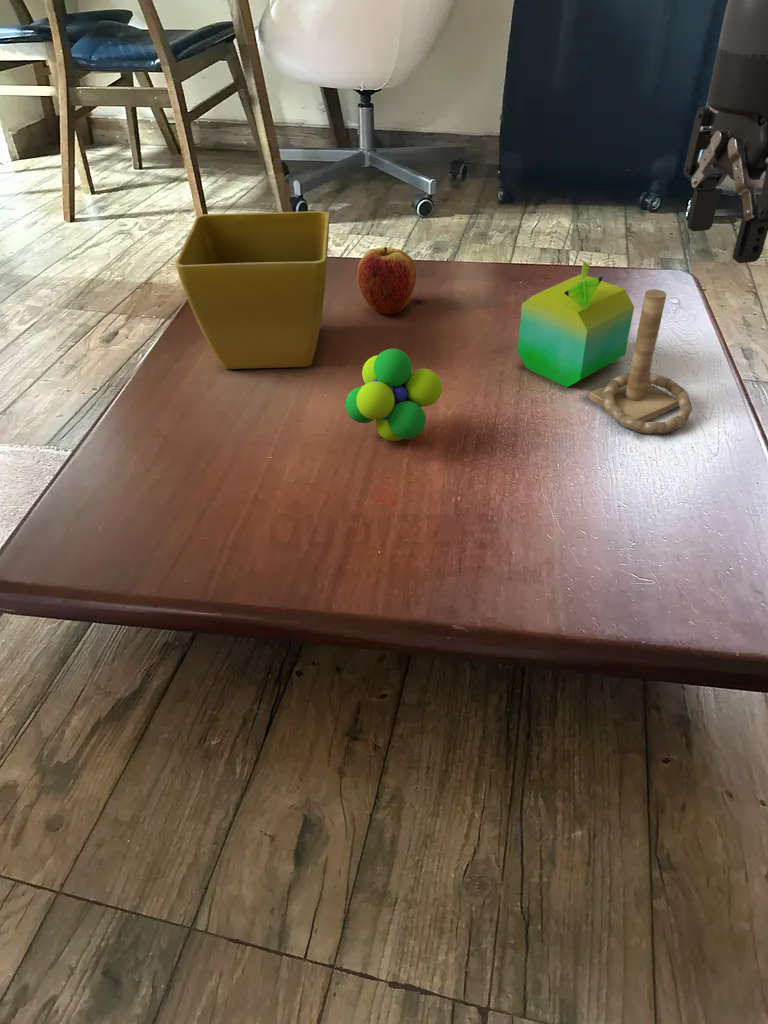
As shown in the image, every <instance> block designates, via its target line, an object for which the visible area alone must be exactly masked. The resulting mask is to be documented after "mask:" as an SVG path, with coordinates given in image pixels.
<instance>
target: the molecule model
mask: <svg viewBox="0 0 768 1024" xmlns="http://www.w3.org/2000/svg"><path fill="white" fill-rule="evenodd" d="M412 369H413V367H412V362H411V359H410V358H409V355H408V354H407V353H406V352H404V351H402V350H401V349H398V348H388V349H385V350H383V351H381V352H379V354H377V355H374V356H373V355H372V356H371V357H370V358H368V359H367V360H366V361H365V363H364V364H363V367H362V371H361V375H362V380H363V382H364V385H362V386H357V387H355V388H354V389H352V390H351V391H350V392H349V393H348V394H347V395H346V396H347V397H346V399H345V410H346V413H347V415H348V416H349V417H350V419H352V420H353V421H354V422H356V423H359V424H368V423H372V422H373V421H375V427H376V430H377V433H378V434H379V435H380V436H381V438H383V439H384V440H387V441H390V442H399V441H401V440H410V439H413V438H416V437H417V436H419V435H420V434H422V432H423V430H424V429H425V426H426V414H425V411H424V409H423V408H422V407H429V406H432V405H433V404H435V403H436V402H437V401H438V400H439V399H440V398H441V394H442V392H443V383H442V379H441V378H440V375H438V374H437V373H436V372H435V371H433V370H432V369H428V368H417V369H416V370H414V371H413V372H412Z"/></svg>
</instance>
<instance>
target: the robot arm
mask: <svg viewBox="0 0 768 1024" xmlns="http://www.w3.org/2000/svg"><path fill="white" fill-rule="evenodd" d="M718 39H719V40H718V45H717V50H716V55H715V59H714V65H713V68H712V69H713V70H712V74H711V79H710V84H709V89H708V93H707V98H706V99H707V100H706V101H707V104H708V106H704V107H699V108H698V109H697V110H696V114H695V118H694V123H693V127H692V131H691V135H690V141H689V145H688V148H687V153H686V158H685V162H684V167H683V175H684V176H685V177H691V180H690V181H691V183H690V184H691V187H692V189H694V192H693V196H692V201H691V206H690V209H689V214H688V220H687V224H686V225H687V228H688V229H689V230H690V231H692V232H702V231H709V230H710V229H711V228H712V227H713V223H714V220H715V215H716V211H717V207H718V201H719V198H720V193H721V189H720V188H718V187H720V186H721V185H722V184H723V182H725V181H724V180H725V179H726V177H729V178H730V179H731V180H732V181H733V182H734V183H733V184H734V189H735V193H736V194H737V195H738V196H740V197H741V204H742V211H743V213H742V214H743V218H741V221H740V225H739V229H738V233H737V236H736V241H735V245H734V249H733V252H732V260H734V261H735V262H737V263H738V264H748V263H754V262H757V261H758V260H759V259H760V257H761V255H762V253H763V250H764V246H765V243H766V240H767V236H768V0H727V3H726V8H725V11H724V15H723V19H722V25H721V30H720V34H719V38H718ZM704 150H705V151H704ZM701 151H704V152H703V154H702V155H701V156H700V158H699V153H700V152H701ZM698 158H699V159H698ZM762 175H764V178H760V177H761V176H762ZM756 194H760V195H759V196H760V197H759V200H758V204H757V198H756Z"/></svg>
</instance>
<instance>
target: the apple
mask: <svg viewBox="0 0 768 1024" xmlns="http://www.w3.org/2000/svg"><path fill="white" fill-rule="evenodd" d="M416 281H417V269H416V265H415V262H414V260H413V258H412V257H411V256H410V255H409V254H408V253H406V252H405V251H403V250H402V249H399V248H393V247H387V246H384V247H378V248H374V249H370V250H368V251H367V252H366V253H365V254H364V255H363V256H362V257H361V259H360V260H359V263H358V266H357V285H358V288H359V290H360V293H361V295H362V297H363V298H364V300H365V301H366V303H367V305H368V306H370V308H371V309H373V310H374V311H376V312H378V313H381V314H386V315H394V314H397V313H399V312H401V311H402V310H404V308H405V307H406V306H407V305H408V304H409V301H410V299H411V297H412V295H413V292H414V289H415V286H416Z"/></svg>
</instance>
